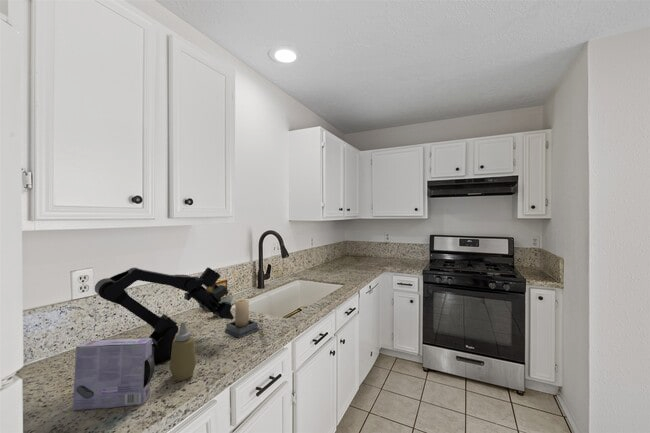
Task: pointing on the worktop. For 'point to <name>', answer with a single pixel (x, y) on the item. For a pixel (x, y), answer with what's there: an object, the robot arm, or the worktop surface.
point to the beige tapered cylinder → (241, 313)
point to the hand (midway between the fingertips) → (227, 316)
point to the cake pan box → (112, 373)
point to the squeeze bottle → (182, 355)
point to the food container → (225, 299)
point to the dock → (241, 329)
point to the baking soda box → (219, 282)
